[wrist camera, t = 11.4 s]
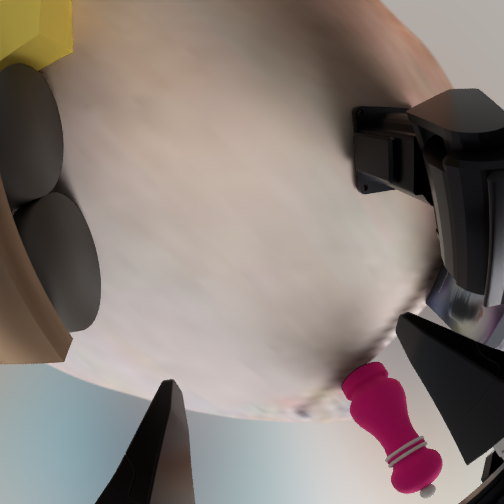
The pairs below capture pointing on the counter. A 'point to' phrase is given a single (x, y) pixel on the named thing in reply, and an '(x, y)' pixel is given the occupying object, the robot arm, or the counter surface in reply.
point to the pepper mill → (392, 428)
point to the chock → (35, 32)
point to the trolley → (39, 230)
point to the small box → (466, 311)
